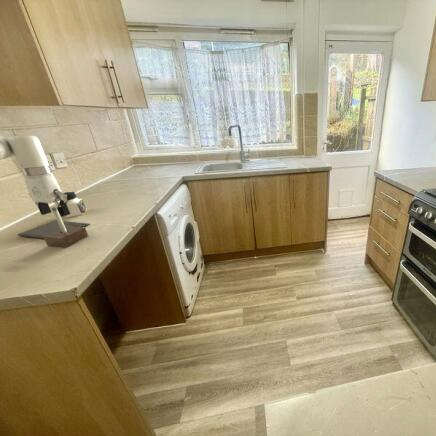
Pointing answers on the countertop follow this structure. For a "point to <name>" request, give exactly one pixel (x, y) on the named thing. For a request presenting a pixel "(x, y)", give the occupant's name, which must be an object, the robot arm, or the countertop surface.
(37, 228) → the plate
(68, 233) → the pen stand
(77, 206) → the medicine bottle
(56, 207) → the stylus
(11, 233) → the countertop surface
